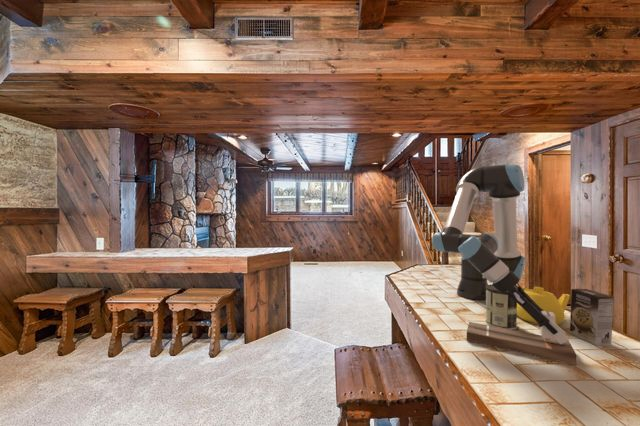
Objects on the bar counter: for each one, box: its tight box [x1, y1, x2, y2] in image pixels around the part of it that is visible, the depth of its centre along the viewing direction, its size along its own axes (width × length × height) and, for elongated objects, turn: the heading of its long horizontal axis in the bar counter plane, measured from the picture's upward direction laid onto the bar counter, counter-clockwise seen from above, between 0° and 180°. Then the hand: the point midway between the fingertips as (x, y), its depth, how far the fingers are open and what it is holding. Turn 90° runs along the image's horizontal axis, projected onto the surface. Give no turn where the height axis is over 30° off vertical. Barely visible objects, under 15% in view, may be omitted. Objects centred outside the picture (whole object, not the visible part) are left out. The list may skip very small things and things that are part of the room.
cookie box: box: [569, 288, 615, 346], centre depth 99 cm, size 9×6×16 cm
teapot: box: [517, 286, 571, 326], centre depth 118 cm, size 20×19×13 cm
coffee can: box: [485, 283, 518, 330], centre depth 111 cm, size 10×10×14 cm
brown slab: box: [466, 321, 577, 366], centre depth 94 cm, size 10×28×3 cm, turn 59°
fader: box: [540, 311, 555, 342], centre depth 90 cm, size 4×3×9 cm
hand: (563, 338), depth 88 cm, fingers closed on fader, 4 cm apart
